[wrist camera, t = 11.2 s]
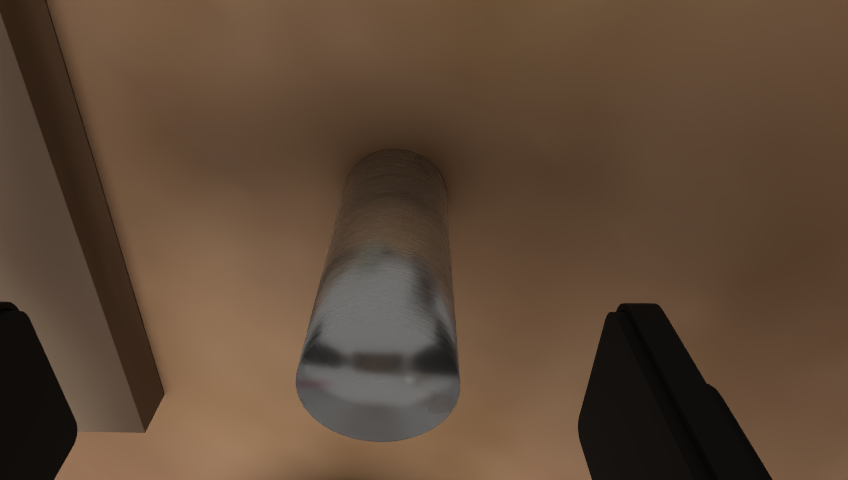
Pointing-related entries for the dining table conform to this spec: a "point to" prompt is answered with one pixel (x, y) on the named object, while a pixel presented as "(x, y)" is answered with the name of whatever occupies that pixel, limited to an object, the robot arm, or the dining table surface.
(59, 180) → the pin board
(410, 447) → the dining table surface
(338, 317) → the peg
